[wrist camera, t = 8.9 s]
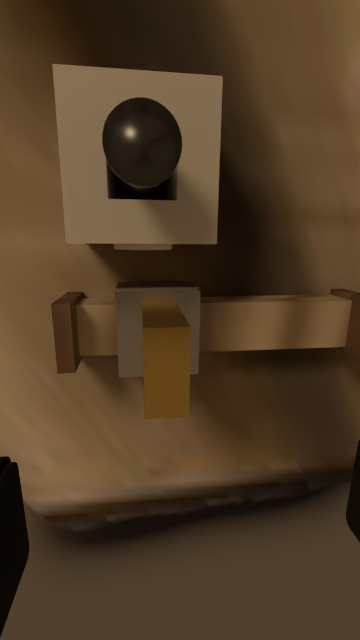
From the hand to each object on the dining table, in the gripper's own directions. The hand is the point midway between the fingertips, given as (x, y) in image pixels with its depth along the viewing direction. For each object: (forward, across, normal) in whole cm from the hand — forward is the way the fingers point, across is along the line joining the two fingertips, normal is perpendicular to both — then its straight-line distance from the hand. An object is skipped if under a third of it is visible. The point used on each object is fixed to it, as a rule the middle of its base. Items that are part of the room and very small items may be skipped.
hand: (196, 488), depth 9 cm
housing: (+20, +1, -11) cm, 22 cm away
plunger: (+16, +1, -11) cm, 19 cm away
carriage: (+20, 0, 0) cm, 20 cm away
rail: (+20, -5, 0) cm, 20 cm away
